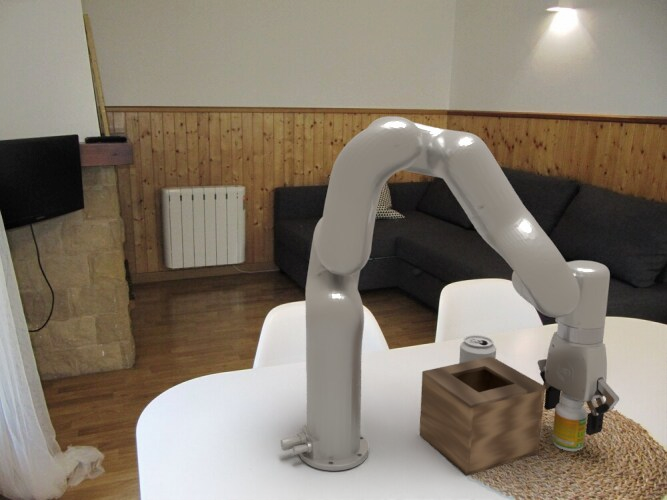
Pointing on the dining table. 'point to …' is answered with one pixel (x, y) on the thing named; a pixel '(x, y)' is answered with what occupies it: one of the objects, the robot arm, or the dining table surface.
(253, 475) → the dining table surface
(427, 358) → the dining table surface
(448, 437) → the drop box
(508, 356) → the dining table surface
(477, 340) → the can
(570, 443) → the supplement bottle
